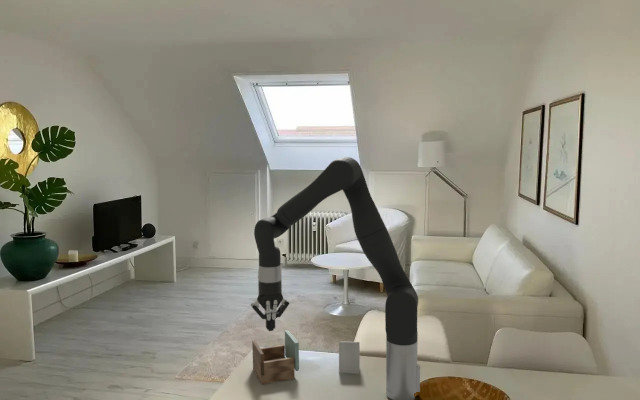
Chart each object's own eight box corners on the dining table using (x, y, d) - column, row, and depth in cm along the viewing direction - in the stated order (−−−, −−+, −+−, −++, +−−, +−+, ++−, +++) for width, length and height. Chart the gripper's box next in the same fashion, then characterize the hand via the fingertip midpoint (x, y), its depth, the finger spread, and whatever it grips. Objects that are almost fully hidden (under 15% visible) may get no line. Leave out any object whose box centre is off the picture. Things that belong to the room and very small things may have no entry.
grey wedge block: (359, 373, 168) (359, 344, 167) (339, 372, 169) (338, 343, 168) (359, 368, 172) (359, 340, 171) (339, 367, 172) (339, 339, 171)
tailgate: (288, 356, 176) (288, 329, 175) (299, 370, 165) (298, 342, 164) (285, 357, 176) (284, 330, 175) (295, 371, 165) (295, 342, 164)
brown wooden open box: (284, 364, 176) (283, 336, 175) (294, 378, 165) (294, 349, 164) (253, 369, 172) (252, 340, 171) (261, 384, 161) (260, 354, 160)
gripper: (252, 283, 159) (253, 336, 161) (292, 279, 164) (293, 331, 165) (247, 277, 166) (248, 328, 168) (286, 274, 170) (286, 323, 172)
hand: (270, 330), depth 167 cm, fingers closed
